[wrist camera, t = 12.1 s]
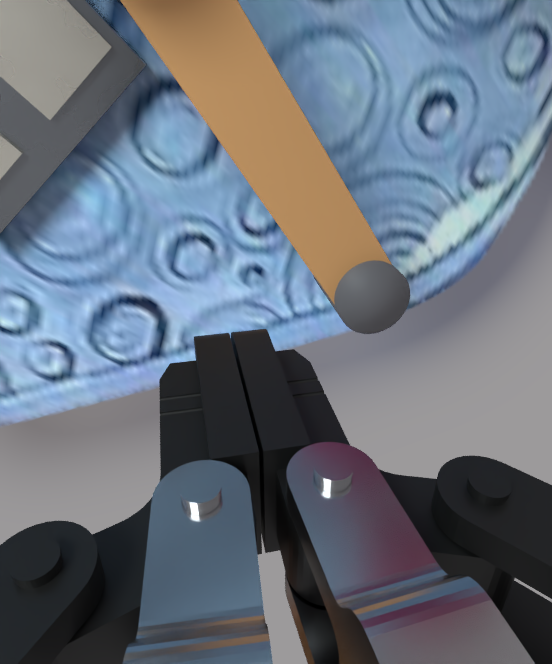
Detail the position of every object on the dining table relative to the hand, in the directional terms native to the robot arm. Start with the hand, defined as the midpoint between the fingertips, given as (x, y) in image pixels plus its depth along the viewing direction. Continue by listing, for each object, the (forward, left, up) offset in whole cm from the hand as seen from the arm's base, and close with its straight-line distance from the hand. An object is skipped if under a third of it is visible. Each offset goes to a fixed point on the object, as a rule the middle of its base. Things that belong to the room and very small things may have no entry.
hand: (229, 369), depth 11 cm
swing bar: (-4, +1, -14) cm, 14 cm away
